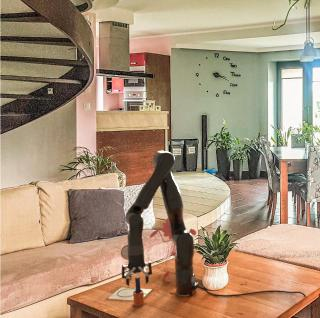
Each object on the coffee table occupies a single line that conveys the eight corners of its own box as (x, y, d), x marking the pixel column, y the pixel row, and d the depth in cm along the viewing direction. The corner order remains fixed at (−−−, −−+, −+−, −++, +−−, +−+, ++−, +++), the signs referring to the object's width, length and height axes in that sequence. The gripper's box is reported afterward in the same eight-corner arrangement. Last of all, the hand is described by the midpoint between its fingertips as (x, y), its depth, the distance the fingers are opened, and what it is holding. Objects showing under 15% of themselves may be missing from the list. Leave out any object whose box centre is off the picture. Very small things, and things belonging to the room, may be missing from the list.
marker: (142, 303, 216) (140, 276, 214) (140, 305, 213) (138, 278, 212) (137, 302, 216) (136, 276, 214) (135, 304, 214) (134, 278, 212)
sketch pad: (152, 290, 232) (152, 289, 232) (140, 301, 218) (140, 300, 218) (121, 288, 236) (120, 287, 236) (107, 299, 222) (107, 298, 222)
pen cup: (145, 303, 217) (145, 289, 216) (141, 307, 212) (140, 293, 211) (136, 302, 218) (136, 289, 217) (132, 307, 213) (131, 293, 212)
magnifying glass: (138, 277, 250) (136, 243, 248) (138, 278, 249) (136, 244, 246) (122, 279, 248) (120, 245, 246) (122, 280, 247) (120, 246, 244)
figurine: (200, 277, 248) (197, 217, 244) (154, 286, 237) (151, 223, 233) (192, 268, 262) (189, 211, 258) (148, 276, 251) (145, 217, 247)
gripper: (150, 248, 217) (151, 279, 219) (120, 251, 213) (122, 283, 215) (151, 252, 210) (153, 285, 212) (120, 256, 206) (122, 289, 208)
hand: (137, 284), depth 213 cm, fingers open, 8 cm apart
